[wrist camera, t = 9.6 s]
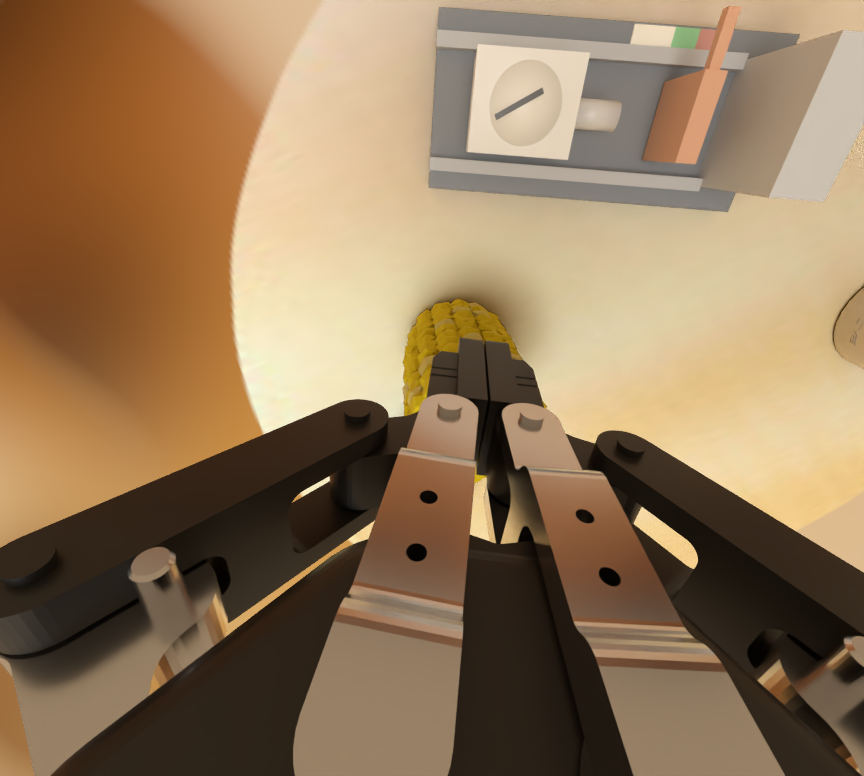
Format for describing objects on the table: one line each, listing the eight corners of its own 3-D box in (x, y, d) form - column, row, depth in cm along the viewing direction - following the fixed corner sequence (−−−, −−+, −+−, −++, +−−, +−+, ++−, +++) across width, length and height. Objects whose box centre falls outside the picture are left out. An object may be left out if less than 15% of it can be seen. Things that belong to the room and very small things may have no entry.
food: (406, 294, 37) (516, 298, 38) (405, 414, 41) (505, 417, 41) (392, 316, 23) (570, 322, 23) (391, 499, 26) (546, 503, 27)
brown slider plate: (699, 30, 25) (750, 5, 20) (659, 161, 28) (695, 164, 24) (680, 28, 25) (727, 3, 20) (641, 160, 28) (675, 162, 24)
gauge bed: (782, 40, 26) (931, -9, 18) (716, 209, 31) (808, 231, 23) (439, 13, 26) (432, -47, 18) (429, 186, 31) (420, 199, 23)
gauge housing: (615, 72, 26) (648, 55, 21) (593, 161, 29) (620, 164, 24) (474, 61, 26) (478, 42, 22) (465, 151, 29) (467, 152, 24)
